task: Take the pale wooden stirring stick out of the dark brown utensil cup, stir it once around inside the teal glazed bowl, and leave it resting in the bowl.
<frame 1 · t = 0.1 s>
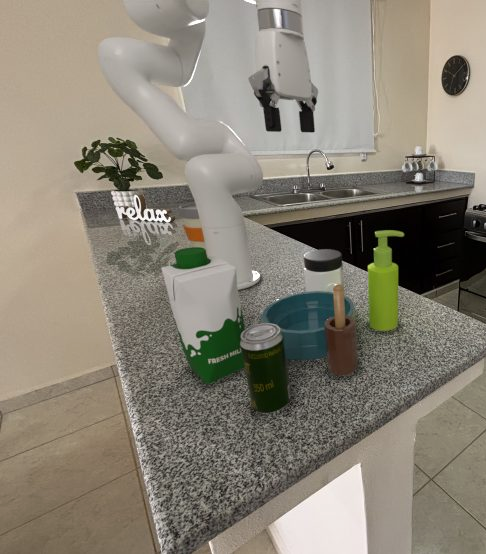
hand: (291, 131, 69), 37 cm above the counter, tool pointing down, fingers open, 9 cm apart
soap dispenser: (386, 326, 72), on the counter
reusable coffee cup: (211, 252, 114), on the counter
jar: (326, 304, 81), on the counter
beer can: (272, 404, 51), on the counter
utensil cup: (343, 369, 59), on the counter
bowl: (312, 336, 68), on the counter
milk carton: (221, 368, 58), on the counter
stick: (342, 366, 58), point 1 cm above the counter, touching utensil cup
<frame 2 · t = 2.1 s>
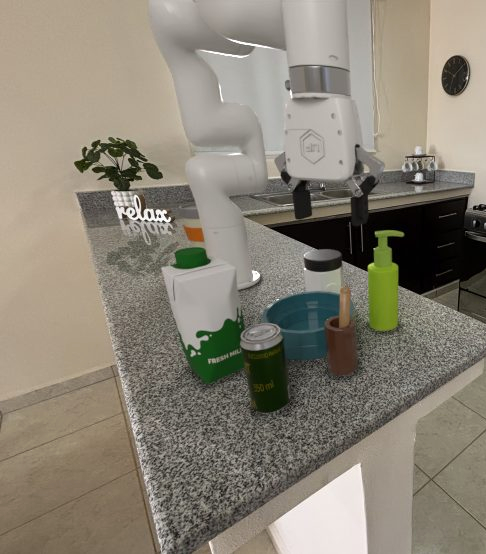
hand: (331, 221, 51), 25 cm above the counter, tool pointing down, fingers open, 9 cm apart
stick: (342, 366, 58), point 1 cm above the counter, tilted 5°, touching utensil cup
everything else where it was.
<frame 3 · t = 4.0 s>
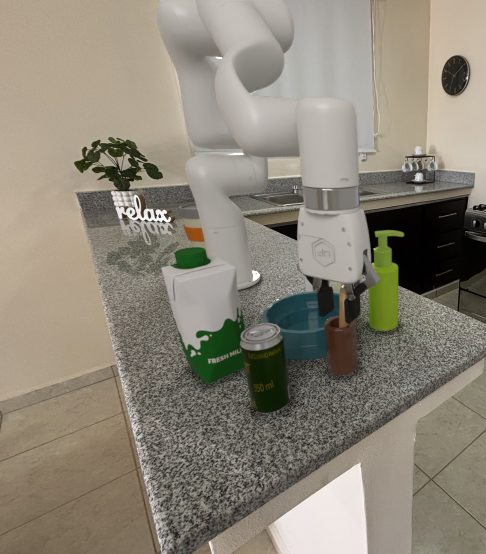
hand: (339, 315, 55), 10 cm above the counter, tool pointing down, fingers open, 4 cm apart
stick: (342, 366, 58), point 1 cm above the counter, tilted 5°, touching gripper, utensil cup
everything else where it was.
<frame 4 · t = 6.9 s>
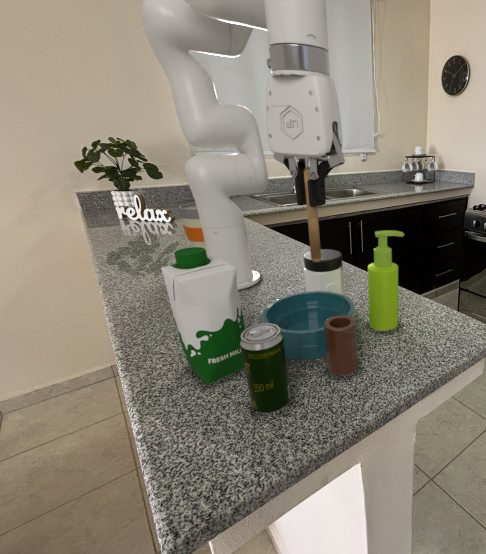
hand: (311, 204, 54), 27 cm above the counter, tool pointing down, fingers closed on stick, 1 cm apart
stick: (316, 262, 57), point 17 cm above the counter, touching gripper
everything else where it was.
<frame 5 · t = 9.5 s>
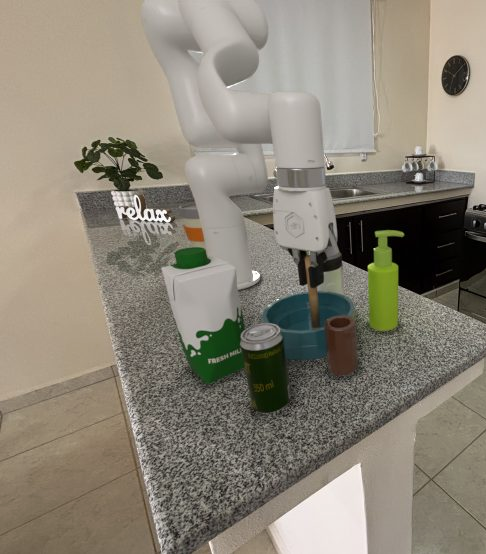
hand: (312, 283, 63), 12 cm above the counter, tool pointing down, fingers closed on stick, 1 cm apart
stick: (316, 329, 66), point 2 cm above the counter, touching gripper
everything else where it was.
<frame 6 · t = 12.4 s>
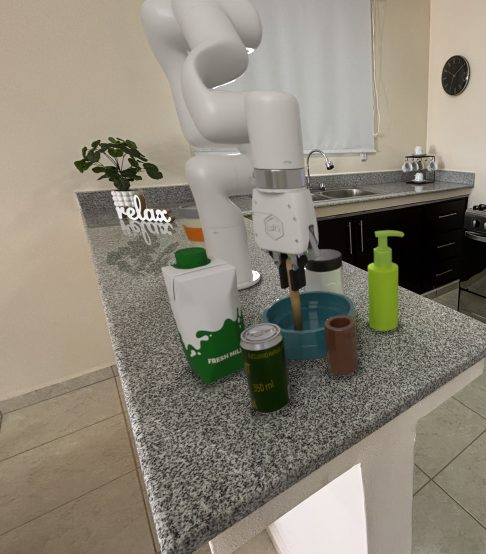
hand: (293, 286, 62), 11 cm above the counter, tool pointing down, fingers closed on stick, 1 cm apart
stick: (299, 333, 65), point 2 cm above the counter, touching gripper
everything else where it was.
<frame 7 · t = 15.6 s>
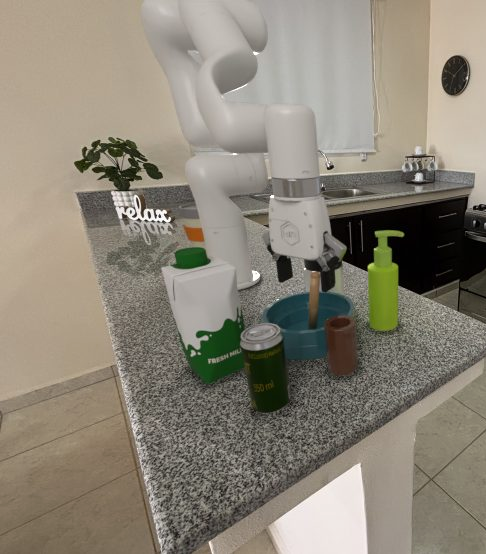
hand: (306, 284, 63), 11 cm above the counter, tool pointing down, fingers open, 9 cm apart
stick: (312, 334, 67), point 1 cm above the counter, tilted 17°, touching bowl
everything else where it was.
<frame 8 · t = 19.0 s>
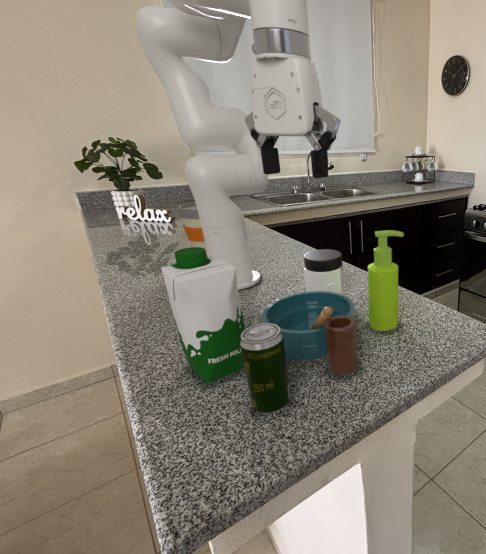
hand: (295, 175, 56), 30 cm above the counter, tool pointing down, fingers open, 9 cm apart
stick: (312, 333, 67), point 1 cm above the counter, tilted 47°, touching bowl, utensil cup
everything else where it was.
at the end: stick inside the target area in the bowl (0.2 cm from its centre), point 0.9 cm above the bowl's base; stick moved 12.3 cm from its start; the gripper is holding nothing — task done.
